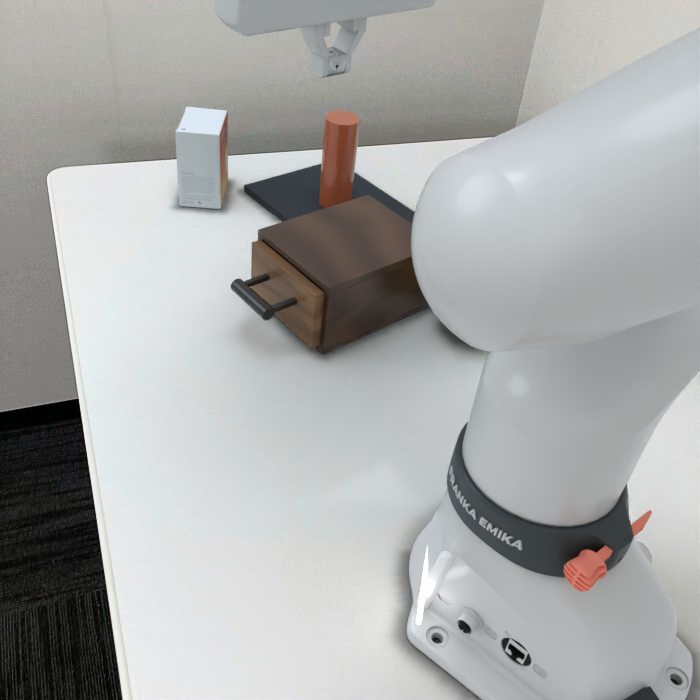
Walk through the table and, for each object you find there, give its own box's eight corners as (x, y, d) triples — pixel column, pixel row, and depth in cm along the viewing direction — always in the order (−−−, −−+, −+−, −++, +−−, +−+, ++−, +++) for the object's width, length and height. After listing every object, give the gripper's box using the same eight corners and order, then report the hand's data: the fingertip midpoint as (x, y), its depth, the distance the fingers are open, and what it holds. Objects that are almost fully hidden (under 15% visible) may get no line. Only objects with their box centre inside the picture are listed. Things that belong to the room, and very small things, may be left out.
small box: (221, 210, 102) (220, 135, 95) (178, 206, 102) (174, 131, 95) (229, 181, 108) (228, 109, 101) (188, 178, 108) (185, 105, 101)
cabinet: (323, 354, 82) (329, 288, 76) (256, 294, 89) (257, 229, 83) (429, 307, 90) (442, 244, 84) (360, 255, 97) (368, 194, 91)
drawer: (277, 363, 78) (279, 310, 74) (217, 306, 85) (216, 253, 80) (412, 304, 88) (422, 254, 84) (350, 257, 95) (355, 208, 90)
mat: (427, 227, 104) (428, 220, 103) (333, 261, 95) (334, 254, 95) (335, 165, 115) (335, 159, 114) (243, 191, 106) (243, 184, 106)
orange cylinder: (357, 205, 104) (367, 120, 97) (332, 213, 102) (339, 127, 94) (337, 191, 107) (345, 107, 99) (312, 199, 104) (318, 114, 97)
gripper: (246, -104, 48) (244, 110, 57) (473, -114, 59) (442, 67, 68) (194, -125, 51) (199, 80, 60) (417, -131, 62) (394, 44, 71)
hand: (329, 73), depth 64 cm, fingers closed
